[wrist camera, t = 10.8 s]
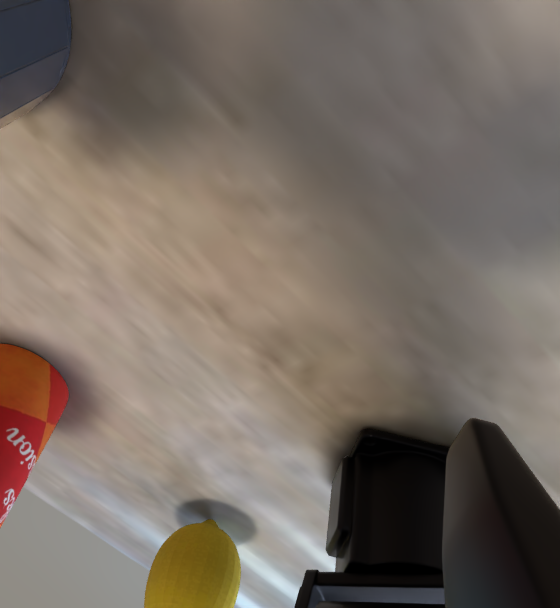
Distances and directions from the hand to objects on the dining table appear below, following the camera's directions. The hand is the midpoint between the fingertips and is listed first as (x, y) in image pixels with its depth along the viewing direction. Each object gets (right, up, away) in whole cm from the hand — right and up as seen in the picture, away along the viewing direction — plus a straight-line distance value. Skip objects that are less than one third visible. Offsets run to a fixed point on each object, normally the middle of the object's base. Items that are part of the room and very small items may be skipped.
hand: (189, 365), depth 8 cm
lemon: (-3, -13, +26) cm, 30 cm away
